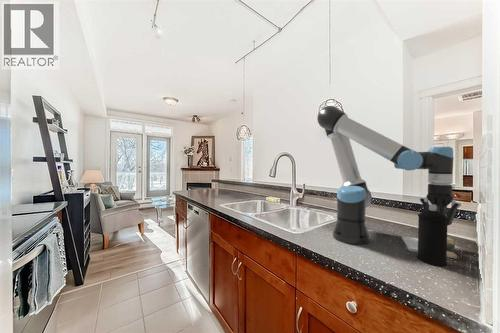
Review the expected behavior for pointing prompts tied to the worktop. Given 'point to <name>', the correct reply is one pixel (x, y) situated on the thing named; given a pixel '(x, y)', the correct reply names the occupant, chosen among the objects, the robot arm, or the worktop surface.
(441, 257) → the aerosol can
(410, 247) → the jamb plate
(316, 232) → the worktop surface
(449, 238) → the brass swing stop
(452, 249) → the door leaf
